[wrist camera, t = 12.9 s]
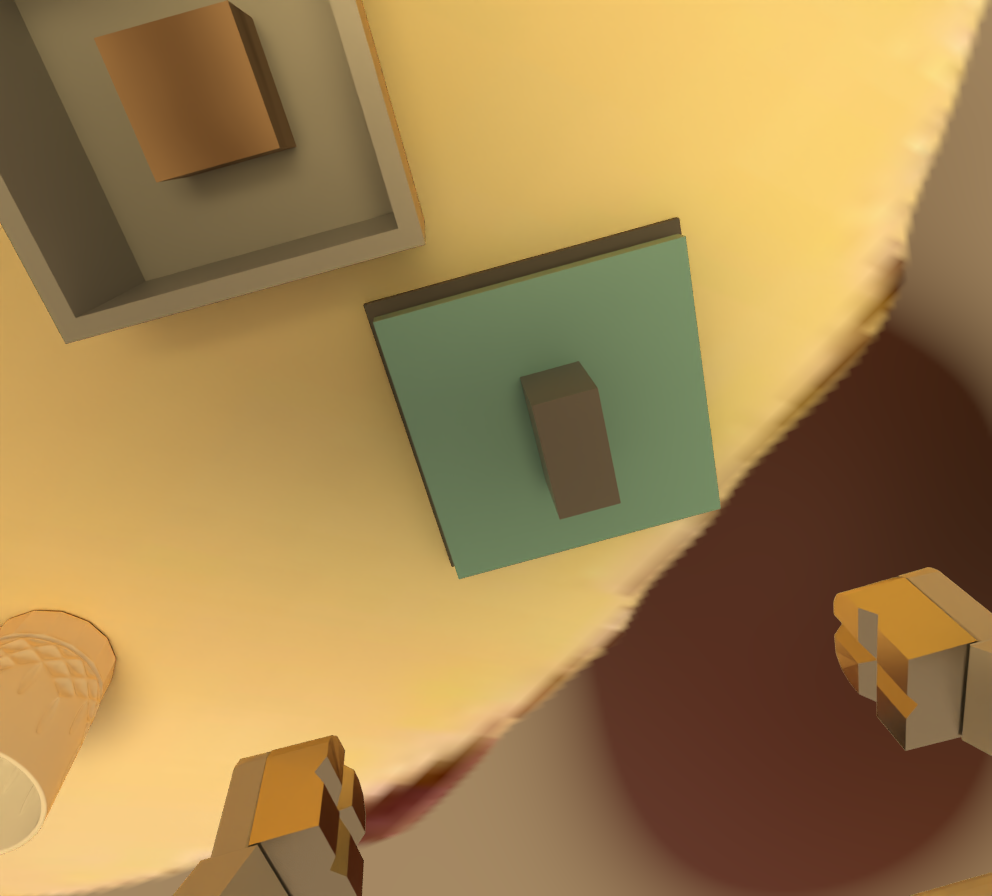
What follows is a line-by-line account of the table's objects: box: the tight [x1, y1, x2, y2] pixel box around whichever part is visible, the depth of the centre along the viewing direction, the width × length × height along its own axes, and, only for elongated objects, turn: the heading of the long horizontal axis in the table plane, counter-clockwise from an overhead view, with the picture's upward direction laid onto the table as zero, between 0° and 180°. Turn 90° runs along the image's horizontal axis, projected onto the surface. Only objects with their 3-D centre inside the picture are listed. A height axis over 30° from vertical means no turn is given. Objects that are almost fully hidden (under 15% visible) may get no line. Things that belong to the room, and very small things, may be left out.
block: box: [94, 0, 297, 183], centre depth 28 cm, size 5×5×4 cm
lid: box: [373, 234, 721, 579], centre depth 34 cm, size 15×15×6 cm
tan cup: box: [0, 611, 116, 855], centre depth 36 cm, size 8×8×10 cm
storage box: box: [0, 0, 426, 344], centre depth 27 cm, size 14×14×8 cm
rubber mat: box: [364, 217, 681, 567], centre depth 37 cm, size 16×16×1 cm
